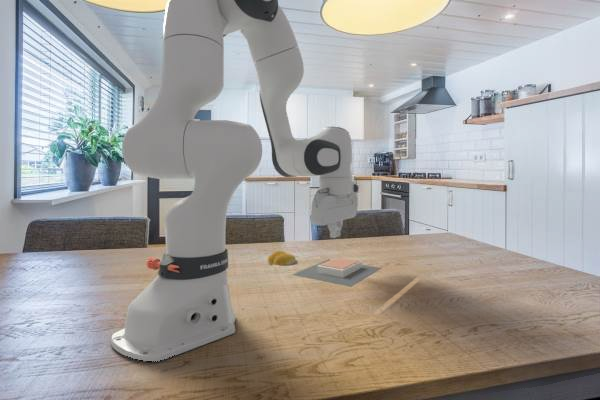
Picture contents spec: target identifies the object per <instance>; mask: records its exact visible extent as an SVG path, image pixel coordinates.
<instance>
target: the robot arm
mask: <svg viewBox="0 0 600 400" xmlns="http://www.w3.org/2000/svg"><path fill="white" fill-rule="evenodd" d="M239 30H240V31H239ZM238 31H239V33H241V34H242V35H243V36H244V38H245V40H246V41H247V45H248V50H249V53H250V55H251V58H252V61H253V63H254V67H255V71H256V75H257V77H258V82H259V83H258V84H259V101H260V106H261V110H262V114H263V118H264V122H265V125H266V129H267V130H266V131H267V132H268V136H269V141H270V145H271V160H272V161H271V162H272V165H273V167H274V169H275V171H276V172H277V173H278V174H279V175H280V176H282V177H284V178H296V177H319V182H318V183H319V187H318V188H319V189H317V191H316V193H315V194H314V197H313V198H312V202H311V212H310V222H311V224H312V225H314V226H322V227H323V226H325V225H327V229H328V230H329V238H331V239H332V238H333V239H336V238H338V237H339V238H340V237H341V235H342V234H341V230H342V228H343V224H344V221H345V220H348V219H353V218H355V217H356V216H357V213H358V203H359V202H358V199H359V197H358V194H357V193H359V191H360V185H359V184H357V183H355V182H354V181H353V180H352V179H353V178H352V170H351V166H352V162H353V161H352V160H353V151H352V149H353V147H352V139H351V138H352V137H351V135H350V132H349V131H348V130H347V129H345V128H342V127H336V126H326V127H323V128H322V130H321V131H320V132H319V133H317V134H316V135H314V136H312V137H311V136H310V137H309V138H305V139H299V140H298V139H296V138H295V137H294V135H293V133H292V130H291V125H290V120H289V117H288V112H287V103H288V100H289V98H290V97H291V95H292V94H293V93H294V92H295V91H296V90H297V89H298V87H299V86H300V85H301V82H302V80H303V77H304V73H305V69H304V66H305V65H304V60H303V57H302V54H301V51H300V47H299V45H298V41H297V38H296V36H295V34H294V32H293V31H294V30H293V29H292V25H291V24H290V21H289V20H288V18H287V16H286V14H285V12H284V11H283V8H281V6H280V5H279V0H167V3H166V7H165V14H164V21H163V32H162V63H161V64H162V66H161V77H160V78H161V79H160V84H159V85H160V86H159V89H158V92H157V95H156V97H155V99H154V101H153V102H152V105H151V106H150V107H149V109H148V111H146V113H145V114H144V116H142V118H140V119H139V120H138V121H137V122H135V123H134V124H132V125H131V126H130V127H129V128H128V129H127V130H126V132H125V134H124V136H123V138H122V143H121V153H122V158H123V160H124V162H125V164H126V166H127V168H129V170H130V171H131V172H132V173H133V174H134V175H138V176H142V177H147V178H151V179H157V180H193V181H194V186H193V187H194V188H193V190H192V192H191V194H190V195H188V196H186V197H183V198H182V199H180V200H178V201H176V202H175V203H172V205H171V206H170V207H169V208H168V209H167V211H166V214H165V217H164V230H165V231H164V233H165V252H164V254H163V257H162V259H160V258H155V257H149V258H148V259H147V260H146V262H145V265H146V267H147V269H150V270H154V271H156V270H157V274H158V275H157V276H156V277H155V278H154V279H153V280H152V281H151V282H150V283H149V284H148V285H147V286H146V287H145V288H144V289H143V291H141V292H140V293H139V294H138V296H136V297H135V298H134V299H133V300H132V301H131V302H130V303H129V305H128V307H127V311H126V315H125V322H124V328H122V329H120V330H118V331H116V332H114V333H113V334H112V335H111V338H110V344H111V347H112V348H113V349H114V350H115V351H116V352H117V353H119V354H121V355H123V356H124V357H127V356H128V357H127V358H129V357H131V358H130V359H132V358H133V359H132V360H135V359H138V360H137V361H139V360H143V361H142V362H146V361H152V363H158V362H161V361H160V360H162V361H164V359H165V360H167V359H170V358H172V356H173V357H175V356H177V355H180V354H182V353H186V352H188V351H190V350H194V349H197V348H199V347H201V346H204V345H208V344H209V343H211V342H215V341H217V340H220V339H223V338H225V337H228V336H230V335H233V334H235V332H236V328H235V321H236V319H237V318H236V315H235V311H234V309H233V305H232V301H231V300H232V299H231V295H230V294H231V293H230V289H229V283H228V272H227V269H228V268H229V252H228V248H226V227H227V226H226V225H227V224H226V222H227V213H228V208H229V205H230V201H231V199H232V198H233V196H234V193H235V192H236V191H237V189H238V188H239V186H240V185H241V184H242V182H244V181H245V180H246V179H247V178H249V177H250V176H251V175H252V174H254V173H255V172H256V170H257V169H258V167H259V165H260V163H261V160H262V156H263V144H262V140H261V138H260V136H259V134H258V131H256V130H255V128H254V127H253V126H252V125H250V124H248V123H243V122H238V121H234V120H233V121H232V120H227V119H219V120H218V119H216V120H214V119H207V120H206V119H205V120H194V119H195V118H196V115H197V113H198V112H199V111H200V109H201V108H204V106H206V105H207V104H210V103H212V102H213V101H215V100H216V99H218V97H219V96H220V94H221V93H222V91H223V88H224V81H225V80H224V76H225V75H224V73H225V72H224V71H225V70H224V69H225V68H224V66H225V65H224V59H225V58H224V57H225V56H224V53H225V52H224V51H225V50H224V47H225V46H224V45H225V43H224V37H226V36H227V35H230V34H233V33H234V32H238ZM174 355H175V356H174ZM169 357H170V358H169ZM153 361H154V362H153ZM155 361H156V362H155ZM157 361H158V362H157Z"/></svg>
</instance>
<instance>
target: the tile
mask: <svg viewBox="0 0 600 400" xmlns="http://www.w3.org/2000/svg"><path fill="white" fill-rule="evenodd" d="M329 260H330V261H328V262H326V263H323V264H321V265H318V266H317V273H320V274H326V275H331V276H336V277H341V278H343V277H345V276H347V275H349V274H351V273H353V272H355V271H357V270H358V269H360V268H362V265H363V261H362V260H359V259H358V260H357V259H352V258H346V257H339V256H338V257H336V258H333V259H329Z"/></svg>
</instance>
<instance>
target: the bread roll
mask: <svg viewBox="0 0 600 400" xmlns="http://www.w3.org/2000/svg"><path fill="white" fill-rule="evenodd" d="M296 261H297V260H296V257H295V256H294V255H293V254H290V253H287V252H285V251H282V250H277V251H274V252H272V253H271V254H270V255H268V257H267V262H268V264H269V265H270V266H273V265H276V266H290V265H293V264H295V263H296Z"/></svg>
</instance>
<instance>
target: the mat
mask: <svg viewBox="0 0 600 400" xmlns="http://www.w3.org/2000/svg"><path fill="white" fill-rule="evenodd" d="M330 260H331V259H330V258H329V259H326V260H323V261H321V262H319V263H317V264H314V265H312V266H309V267H307V268H305V269H302V270H300V271H297V272H295V273H293V274H291V275H292V276H297V277H301V278H307V279H312V280H316V281H321V282H326V283H327V282H328V283H330V284H331V283H332V284H335V285H342V286H345V287H353V286H354V285H356V284H357V283H359V282H361V281H363V280H364V279H366V278H368V277H369V276H372V275H373V274H374V273H377V272H379V270H382V267H378V266H372V265H365V264H362V268H360V269H358V270H357V271H355V272H353V273H351V274H349V275H347V276H345V277H343V278H341V277H336V276H331V275H326V274H320V273H317V266H318V265H321V264H323V263H326V262H328V261H330Z"/></svg>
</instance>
